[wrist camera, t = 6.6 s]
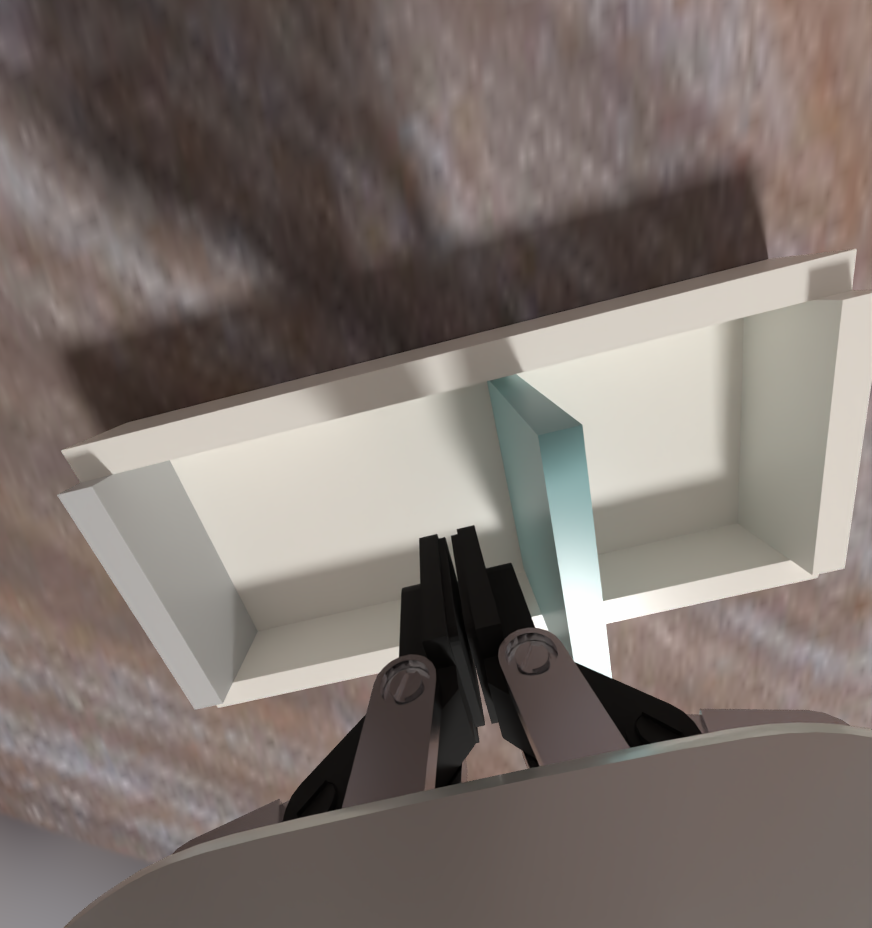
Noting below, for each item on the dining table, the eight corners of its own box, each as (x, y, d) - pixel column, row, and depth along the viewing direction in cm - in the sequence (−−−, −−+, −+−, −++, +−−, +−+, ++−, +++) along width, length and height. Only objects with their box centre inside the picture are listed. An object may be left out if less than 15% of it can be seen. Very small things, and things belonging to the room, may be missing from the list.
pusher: (486, 376, 16) (537, 435, 9) (511, 370, 16) (582, 425, 9) (523, 568, 20) (583, 718, 13) (544, 563, 20) (615, 711, 13)
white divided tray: (126, 422, 17) (35, 461, 13) (769, 259, 16) (891, 245, 12) (247, 648, 22) (207, 729, 18) (756, 534, 20) (841, 593, 16)
